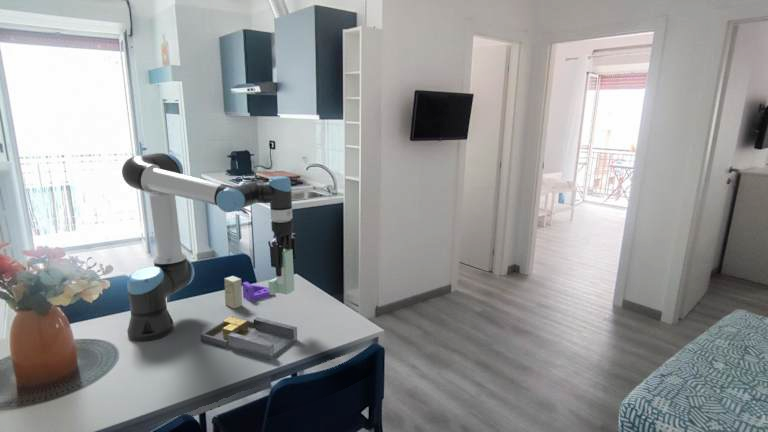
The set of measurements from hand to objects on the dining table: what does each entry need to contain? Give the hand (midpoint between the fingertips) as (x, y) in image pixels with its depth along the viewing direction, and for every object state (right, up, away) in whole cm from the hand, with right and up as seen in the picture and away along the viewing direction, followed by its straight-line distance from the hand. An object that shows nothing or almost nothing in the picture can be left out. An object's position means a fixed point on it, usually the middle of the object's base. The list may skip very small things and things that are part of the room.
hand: (285, 281), depth 159 cm
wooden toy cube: (-19, -20, -3) cm, 27 cm away
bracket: (-20, -12, +36) cm, 42 cm away
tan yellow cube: (-17, -19, +1) cm, 25 cm away
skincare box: (-27, -14, +25) cm, 40 cm away
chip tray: (-21, -20, 0) cm, 28 cm away
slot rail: (-6, -21, -6) cm, 23 cm away
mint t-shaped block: (0, -4, +1) cm, 4 cm away
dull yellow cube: (-21, -19, +3) cm, 28 cm away
